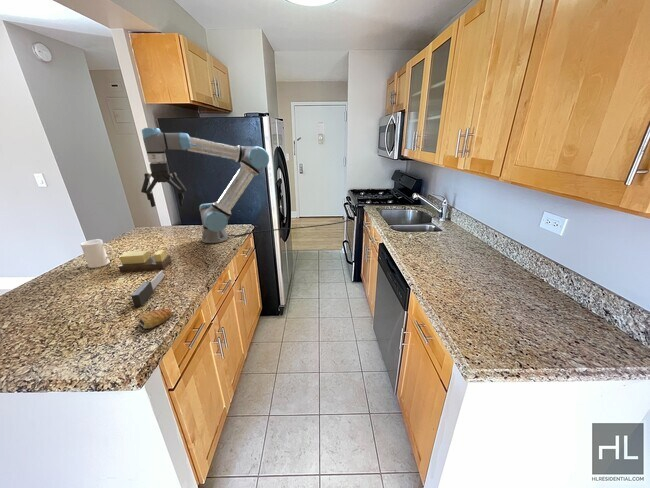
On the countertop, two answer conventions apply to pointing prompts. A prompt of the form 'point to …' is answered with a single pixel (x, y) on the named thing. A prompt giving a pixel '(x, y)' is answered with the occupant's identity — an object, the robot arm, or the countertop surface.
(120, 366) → the countertop surface
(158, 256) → the butter slice
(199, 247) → the countertop surface
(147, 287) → the butter knife
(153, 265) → the butter board
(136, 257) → the butter
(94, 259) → the mug
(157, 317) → the pastry
